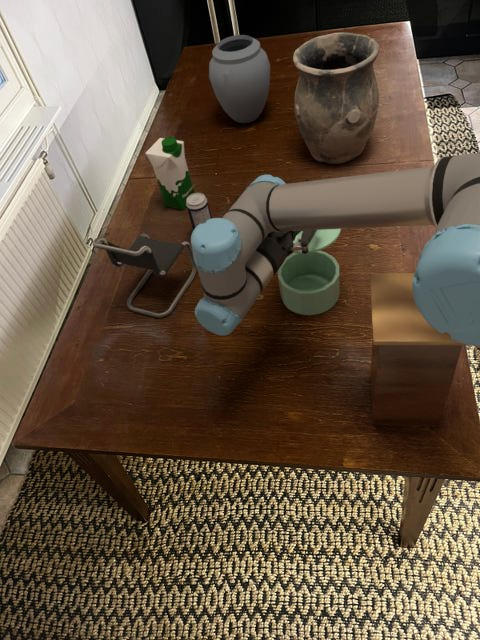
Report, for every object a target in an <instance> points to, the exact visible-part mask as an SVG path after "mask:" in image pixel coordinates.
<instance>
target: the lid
mask: <svg viewBox="0 0 480 640" xmlns="http://www.w3.org/2000/svg"><path fill="white" fill-rule="evenodd" d="M303 231H304V230H302V231H301V232H300V233H299V234H298V235H297V236H296V238H295V240H294V241H293V243H296V242H297V240H298V238H299V237H301V235H302V233H303ZM341 232H342V229H323V230H317V231H316V233H315V235H314V236H313V238H312V240H311V242H310V244H309V248H308V253H313V252H317V251H322V250H324V249H327V248H329V247H330V246H332V245H333V244H334V243H335V242H336V241H337V240H338V239H339V237H340V235H341ZM293 253H299V254H303V253H302V250H298V251H293Z"/></svg>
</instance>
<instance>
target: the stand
mask: <svg viewBox="0 0 480 640" xmlns="http://www.w3.org/2000/svg"><path fill="white" fill-rule="evenodd" d="M414 273H415V272H388V273H387V272H384V273H381V272H380V273H379V272H378V273H369V289H370V308H371V310H370V311H371V329H372V330H371V331H372V341H371V357H370V359H371V360H370V371H369V373H370V393H371V396H370V397H371V416H372V426H392V427H393V426H394V427H395V426H396V427H426V428H428V427H429V428H440V426H441V422H442V418H443V415H444V411H445V408H446V404H447V401H448V397H449V394H450V390H451V388H452V387H451V386H452V383H453V379H454V376H455V373H456V370H457V366H458V362H459V358H460V355H461V352H462V348H463V346H469V345H468V344H464V343H460V342H457V341H454V340H452V339H451V338H450V334H449V333H447V332H444V333H443V334H441V333H440V332H438V331H437V330H435V329H434V328H433V327H432V326H431V325H430V324H429V323H428V322H427V321H426V320H425V319H424V317H423V316H422V315H421V313H420V312H419V310H418V308H417V306H416V303H415V300H414V297H413V290H412V283H413V277H414Z"/></svg>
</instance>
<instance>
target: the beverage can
mask: <svg viewBox="0 0 480 640" xmlns="http://www.w3.org/2000/svg"><path fill="white" fill-rule="evenodd" d="M186 207H187V208H186V211H187V214H188V217H189V220H190V224H191V228H192V230H193V231H194V229H195V228H196V227H197V226H198V225H199V224H203V223H205V222H206V220H209V219H212V218H213V216H212V212H211V208H210V204H209V200H208V198H207V197H206V196H205V194H204V193H203V192H195V193H193V194H191V195H189V196H188V197H187V200H186ZM193 231H192V232H193Z"/></svg>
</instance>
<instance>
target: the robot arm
mask: <svg viewBox="0 0 480 640" xmlns="http://www.w3.org/2000/svg"><path fill="white" fill-rule="evenodd" d="M417 226H434V227H435V230H434V232H433V234H432V236H431V237H430V239H428V241H427V242H425V245H424V247H423V248H422V250H421V252H420V254H419V257H418V260H417V265H416V268H415V271H414V272H413V273H414V277H413V283H412V290H413V297H414V300H415V303H416V306H417V308H418V310H419V312H420V313H421V315H422V316H423V317H424V319H425V320H426V321H427V322H428V323H429V324H430V325H431V326H432V327H433V328H434V329H435V330H437V331H438V332H440V333H441V334H443V333H444V332H447V333H449V334H450V338H451V339H452V340H454V341H457V342H460V343H464V344H468V345H467V346H474V347H476V348H478V349H480V152H479V153H477V152H475V153H474V152H473V153H472V152H471V153H463V154H456V155H447V156H441V157H440V158H439V159H438V160H437V161H436V162H435V163H434V165H432V166H425V167H416V168H407V169H400V170H390V171H383V172H382V171H381V172H375V173H367V174H365V173H364V174H357V175H350V176H341V177H332V178H325V179H315V180H309V179H305V180H304V181H300V182H292V183H291V182H290V183H286V182H285V181H284V180H283V179H281V178H280V177H278V176H273V175H271V174H262V175H259V176H258V177H256V178H255V179H254V180H253V181H252V182H251V183H250V184H249V185H248V186H246V187H245V189H244V190H243V192H242V194H241V195H240V196H239V197H238V198H237V200H236V201H235V202H234V203H233V205H232V206H231V207H230V208H229V209H228V210H227V212H226V213H224V215H223V216H222V217H212V219H209V220H206V222H205V223H203V224H199V225H198V226H197V227H196V228H195V229H194V231H192V233H191V236H190V246H191V249H192V253H193V259H194V262H195V264H196V271H197V273H198V276H199V280H200V284H201V289H202V292H203V296H202V298H200V299H199V300H198V303H197V305H196V306H195V308H194V316H195V318H196V320H197V321H198V323H199V324H200V325H201V326H202V327H203V328H204V329H206V330H207V331H208V332H210V333H212V334H214V335H216V336H221V337H224V336H228V335H230V334H232V332H233V331H234V330H235V329H236V327H238V325H239V324H240V323H242V322H243V319H244V318H245V317H246V315H247V314H248V312H249V311H250V310H251V308H252V307H253V306H254V304H255V302H257V300H258V298H259V297H260V296H261V294H262V292H263V291H264V290H265V288H266V287H267V286H268V284H269V283H270V281H271V280H272V279H273V277H274V276H275V275H276V273H278V270H279V268H280V267H281V266H282V264H283V263H284V261H285V259H286V258H287V257H288V256H290V255H291V254H292V253H293V251H298V250H302V253H303V254H306V253H308V248H309V244H310V242H311V240H312V238H313V236H314V235H315V233H316V231H317V230H323V229H341V230H343V229H344V230H345V229H368V228H389V227H390V228H391V227H417ZM302 230H304V231H303V233H302V235H301V237H299V238H298V240H297V242H296V243H293V241H294V240H295V238H296V236H297V235H298V234H299V233H300V232H301V231H302Z"/></svg>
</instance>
